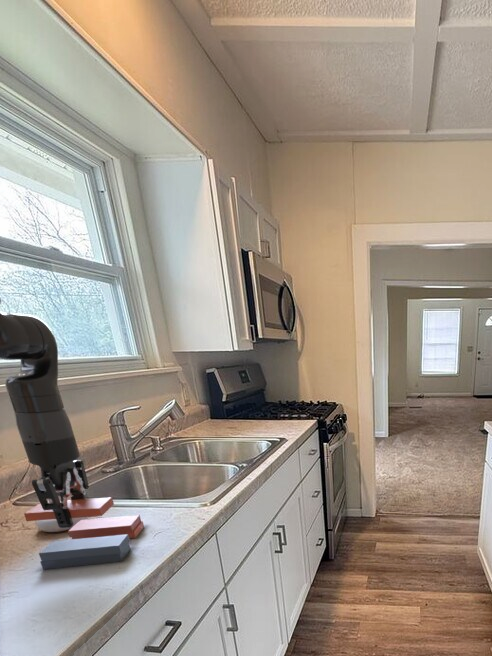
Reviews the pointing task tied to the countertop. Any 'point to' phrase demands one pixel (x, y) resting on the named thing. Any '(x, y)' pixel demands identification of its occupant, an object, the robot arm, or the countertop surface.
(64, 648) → the countertop surface
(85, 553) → the grey rectangular block
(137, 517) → the orange-red flat block
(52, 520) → the donut
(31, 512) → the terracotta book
